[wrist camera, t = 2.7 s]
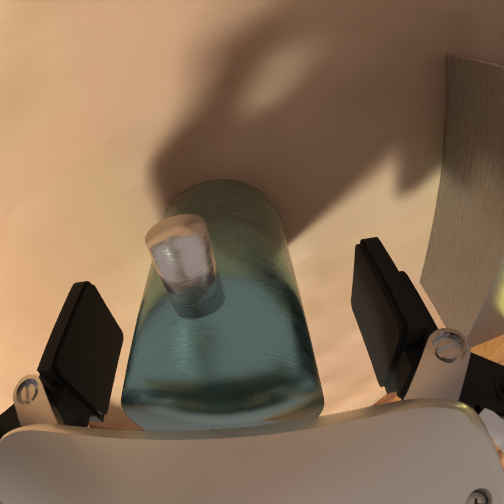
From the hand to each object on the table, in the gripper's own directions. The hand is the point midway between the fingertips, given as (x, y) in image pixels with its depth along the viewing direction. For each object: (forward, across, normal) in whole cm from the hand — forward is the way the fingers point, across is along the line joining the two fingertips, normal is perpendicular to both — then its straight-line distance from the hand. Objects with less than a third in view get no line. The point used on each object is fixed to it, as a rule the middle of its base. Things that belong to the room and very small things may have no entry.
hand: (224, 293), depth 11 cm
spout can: (+3, 0, 0) cm, 3 cm away
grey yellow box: (+3, -17, -1) cm, 17 cm away
